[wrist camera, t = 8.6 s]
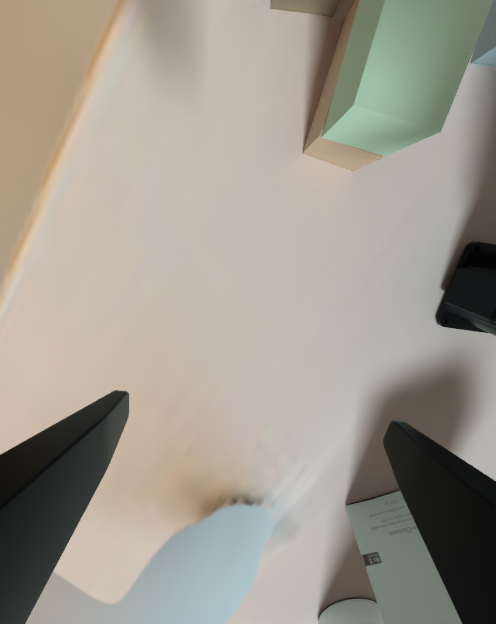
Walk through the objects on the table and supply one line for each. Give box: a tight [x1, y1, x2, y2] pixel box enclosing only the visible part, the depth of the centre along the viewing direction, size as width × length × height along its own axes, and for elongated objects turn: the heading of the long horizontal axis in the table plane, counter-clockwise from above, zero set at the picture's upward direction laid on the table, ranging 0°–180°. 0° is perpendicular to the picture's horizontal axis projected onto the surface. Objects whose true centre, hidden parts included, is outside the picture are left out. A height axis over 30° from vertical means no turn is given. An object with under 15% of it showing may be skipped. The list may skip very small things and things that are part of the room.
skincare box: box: [346, 491, 462, 624], centre depth 21 cm, size 8×6×15 cm
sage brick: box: [321, 0, 493, 156], centre depth 10 cm, size 7×4×4 cm, turn 167°
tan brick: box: [302, 0, 383, 171], centre depth 14 cm, size 7×4×4 cm, turn 164°
